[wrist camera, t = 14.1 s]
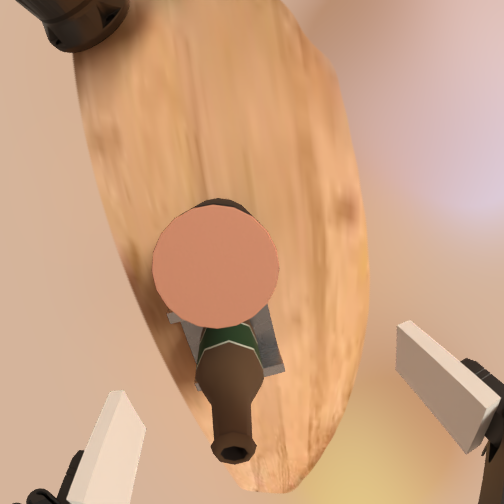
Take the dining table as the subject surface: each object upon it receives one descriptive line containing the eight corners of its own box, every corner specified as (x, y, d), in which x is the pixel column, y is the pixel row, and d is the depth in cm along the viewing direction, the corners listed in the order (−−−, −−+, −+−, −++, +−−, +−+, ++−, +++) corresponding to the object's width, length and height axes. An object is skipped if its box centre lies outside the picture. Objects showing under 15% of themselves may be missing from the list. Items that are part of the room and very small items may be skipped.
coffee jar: (228, 286, 43) (232, 349, 26) (167, 245, 41) (129, 285, 24) (272, 226, 42) (305, 254, 25) (209, 182, 40) (197, 178, 23)
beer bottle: (253, 350, 44) (278, 476, 21) (203, 351, 44) (191, 478, 20) (254, 304, 43) (285, 421, 19) (200, 304, 42) (179, 423, 19)
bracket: (174, 296, 43) (166, 313, 37) (259, 274, 43) (265, 289, 37) (200, 367, 46) (197, 391, 40) (277, 349, 46) (285, 371, 40)
